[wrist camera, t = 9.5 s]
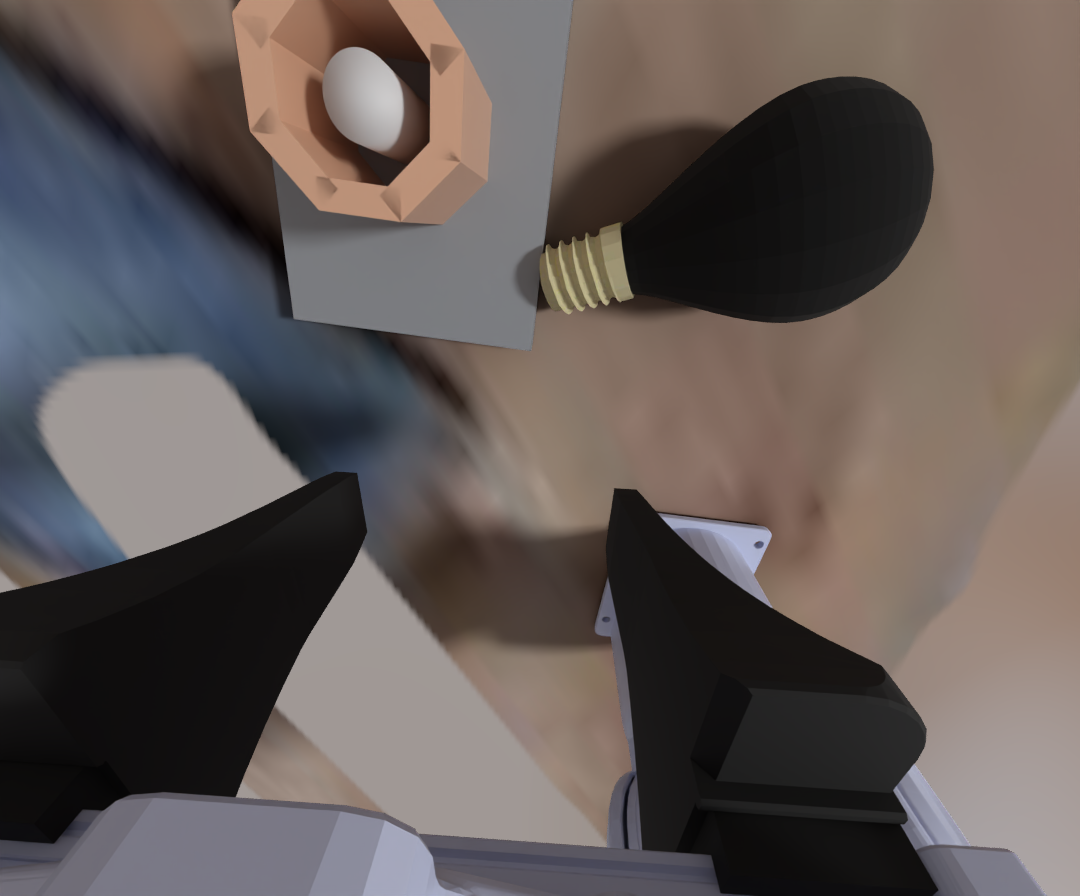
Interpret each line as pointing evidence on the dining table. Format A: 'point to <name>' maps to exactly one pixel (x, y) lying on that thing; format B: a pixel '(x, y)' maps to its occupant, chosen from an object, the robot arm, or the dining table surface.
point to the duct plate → (476, 227)
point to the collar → (308, 132)
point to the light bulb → (770, 213)
